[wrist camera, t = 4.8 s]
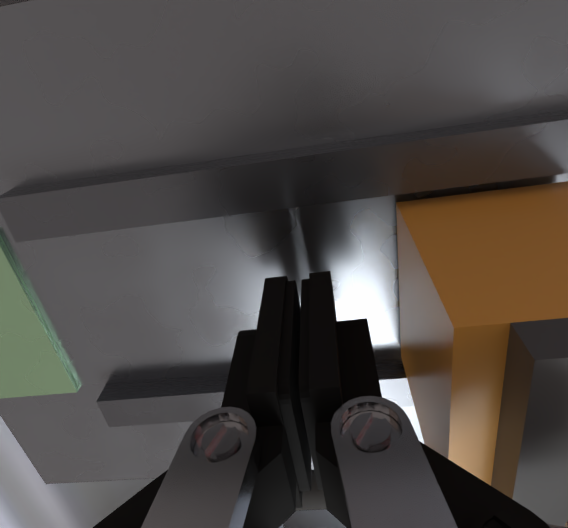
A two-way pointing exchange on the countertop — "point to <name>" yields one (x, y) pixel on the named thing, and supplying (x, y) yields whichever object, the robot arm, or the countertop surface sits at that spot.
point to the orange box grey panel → (491, 336)
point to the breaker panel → (233, 188)
